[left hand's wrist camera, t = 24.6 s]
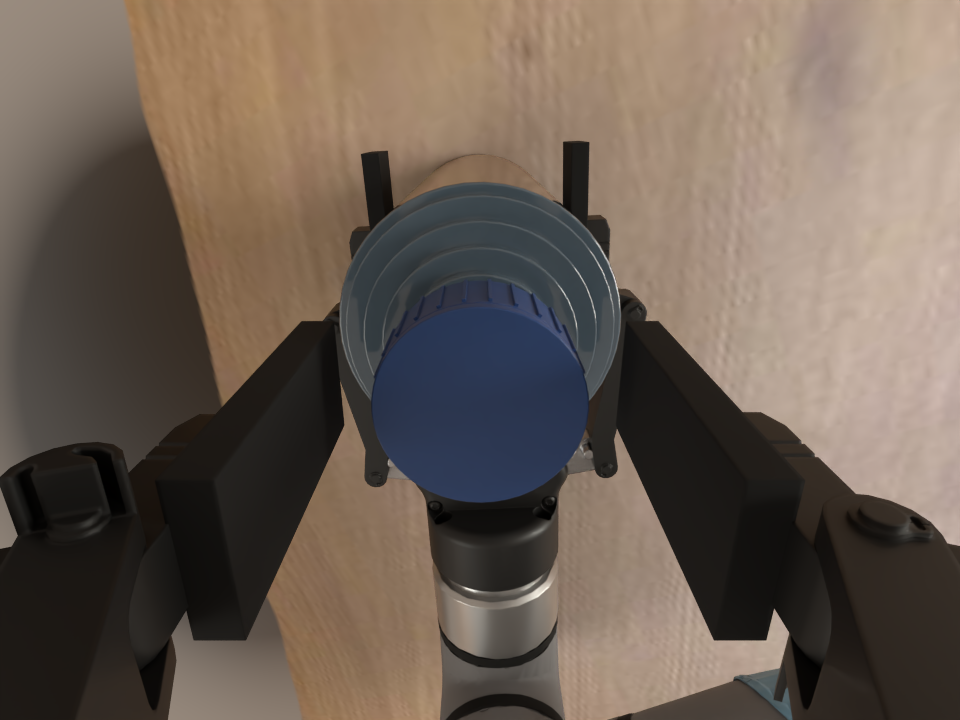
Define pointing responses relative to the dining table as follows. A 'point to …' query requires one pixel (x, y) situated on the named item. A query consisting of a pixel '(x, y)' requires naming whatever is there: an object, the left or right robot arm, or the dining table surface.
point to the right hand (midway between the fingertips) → (474, 147)
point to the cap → (480, 393)
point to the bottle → (480, 261)
